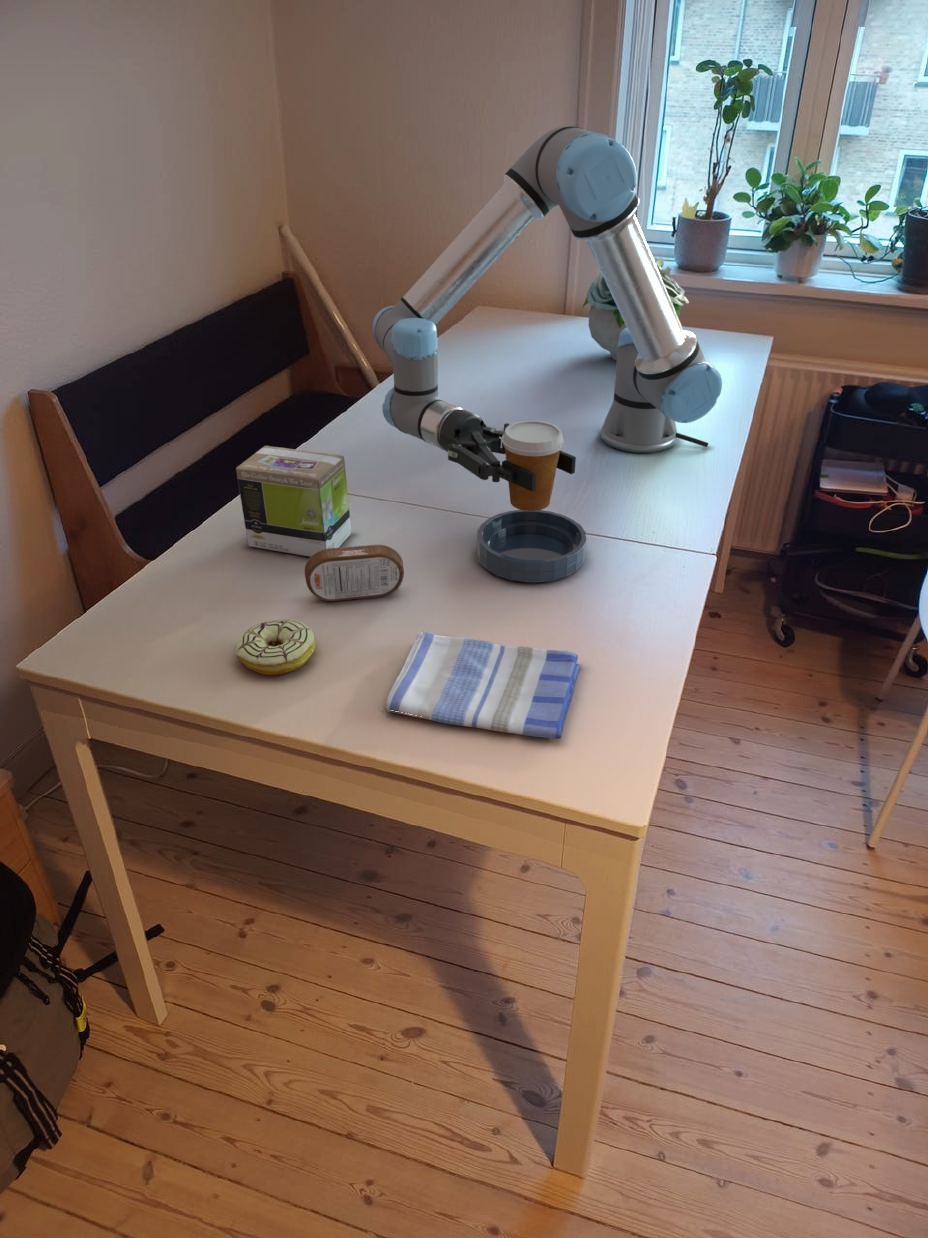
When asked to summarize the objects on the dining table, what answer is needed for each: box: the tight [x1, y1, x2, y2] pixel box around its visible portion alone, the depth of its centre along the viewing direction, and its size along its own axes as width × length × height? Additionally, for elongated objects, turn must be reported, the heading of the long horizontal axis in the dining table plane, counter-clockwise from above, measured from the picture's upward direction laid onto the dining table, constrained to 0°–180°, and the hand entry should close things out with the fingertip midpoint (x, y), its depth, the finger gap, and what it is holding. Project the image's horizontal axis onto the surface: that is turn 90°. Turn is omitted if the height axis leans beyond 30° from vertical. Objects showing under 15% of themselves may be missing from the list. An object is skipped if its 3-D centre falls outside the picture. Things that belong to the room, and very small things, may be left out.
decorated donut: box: [234, 619, 316, 676], centre depth 131 cm, size 10×11×4 cm
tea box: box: [235, 445, 352, 558], centre depth 155 cm, size 15×10×15 cm
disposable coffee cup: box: [501, 420, 565, 511], centre depth 146 cm, size 10×10×12 cm
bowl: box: [476, 509, 587, 583], centre depth 154 cm, size 18×18×4 cm
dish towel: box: [385, 630, 581, 740], centre depth 125 cm, size 17×24×3 cm
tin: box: [303, 544, 405, 602], centre depth 143 cm, size 15×3×8 cm, turn 100°
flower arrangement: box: [581, 257, 690, 362], centre depth 229 cm, size 25×25×24 cm
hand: (554, 473), depth 143 cm, fingers closed on disposable coffee cup, 8 cm apart
